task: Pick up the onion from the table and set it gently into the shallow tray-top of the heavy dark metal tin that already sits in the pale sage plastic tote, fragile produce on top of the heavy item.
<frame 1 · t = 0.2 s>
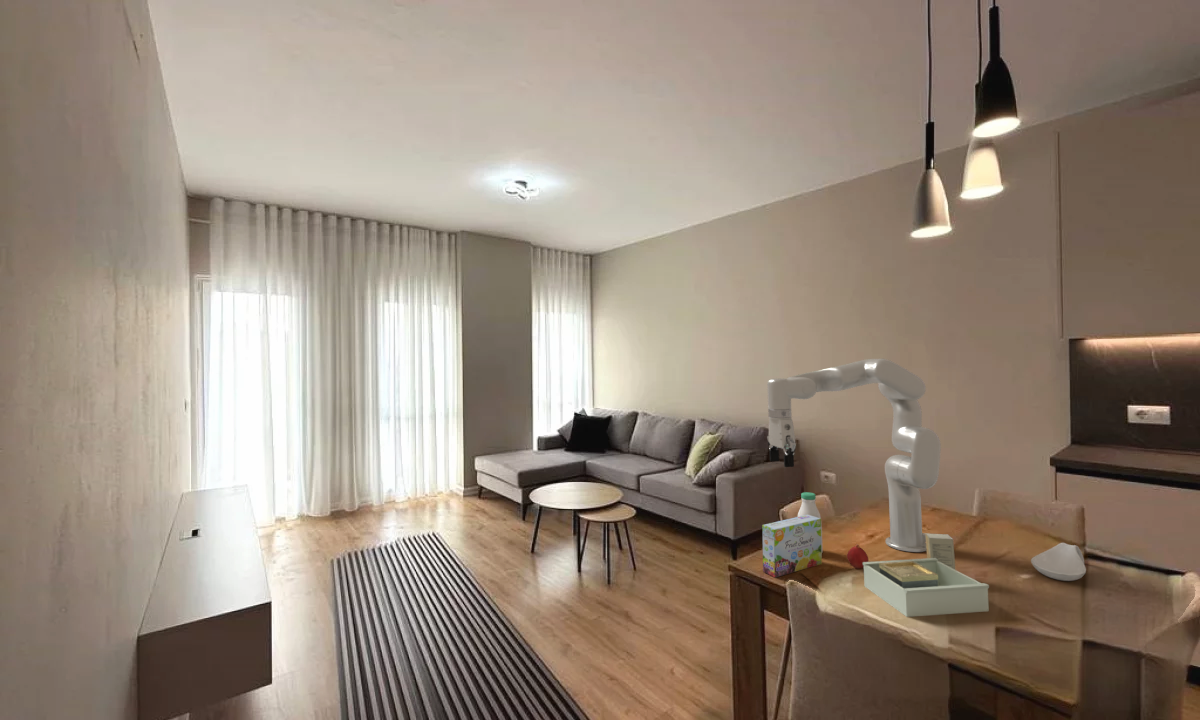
hand: (781, 463, 165), 31 cm above the table, fingers open, 9 cm apart
snack box: (793, 568, 153), on the table
spoon rest: (1063, 572, 145), on the table
milk bottle: (810, 552, 165), on the table
onion: (858, 570, 150), on the table
tote: (923, 600, 129), on the table
tin: (908, 598, 129), point 1 cm above the table, touching tote
skincare box: (941, 577, 144), on the table
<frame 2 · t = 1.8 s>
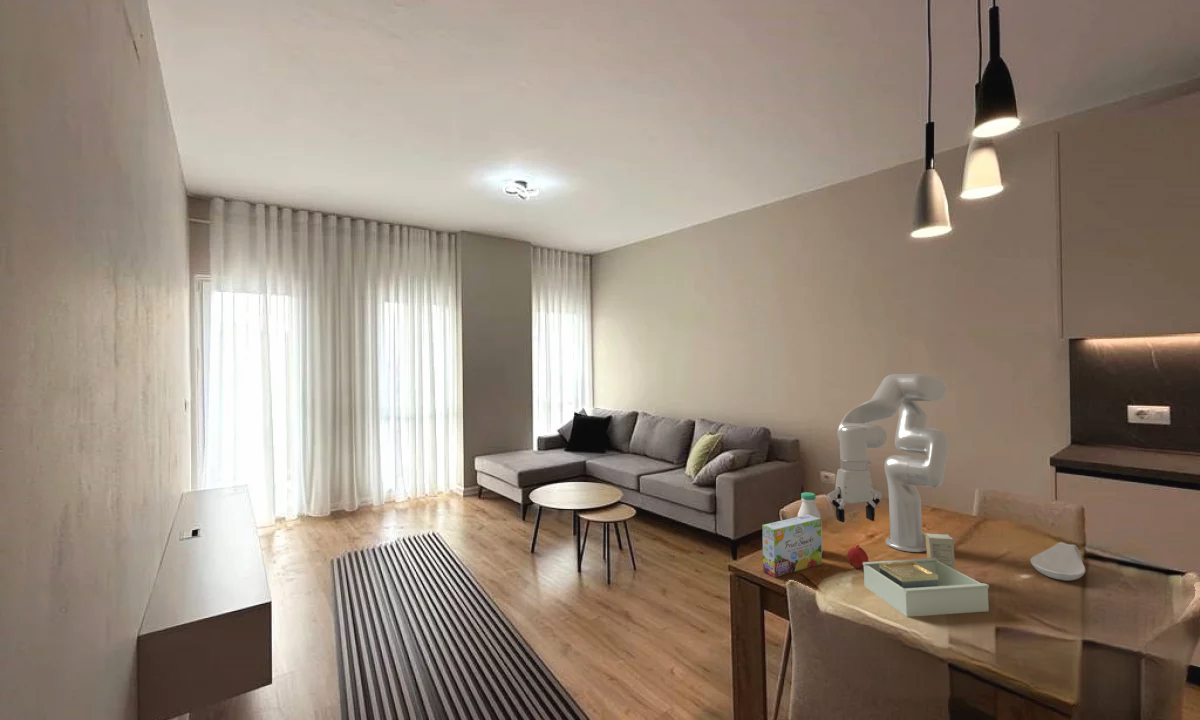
hand: (855, 520, 150), 15 cm above the table, fingers open, 9 cm apart
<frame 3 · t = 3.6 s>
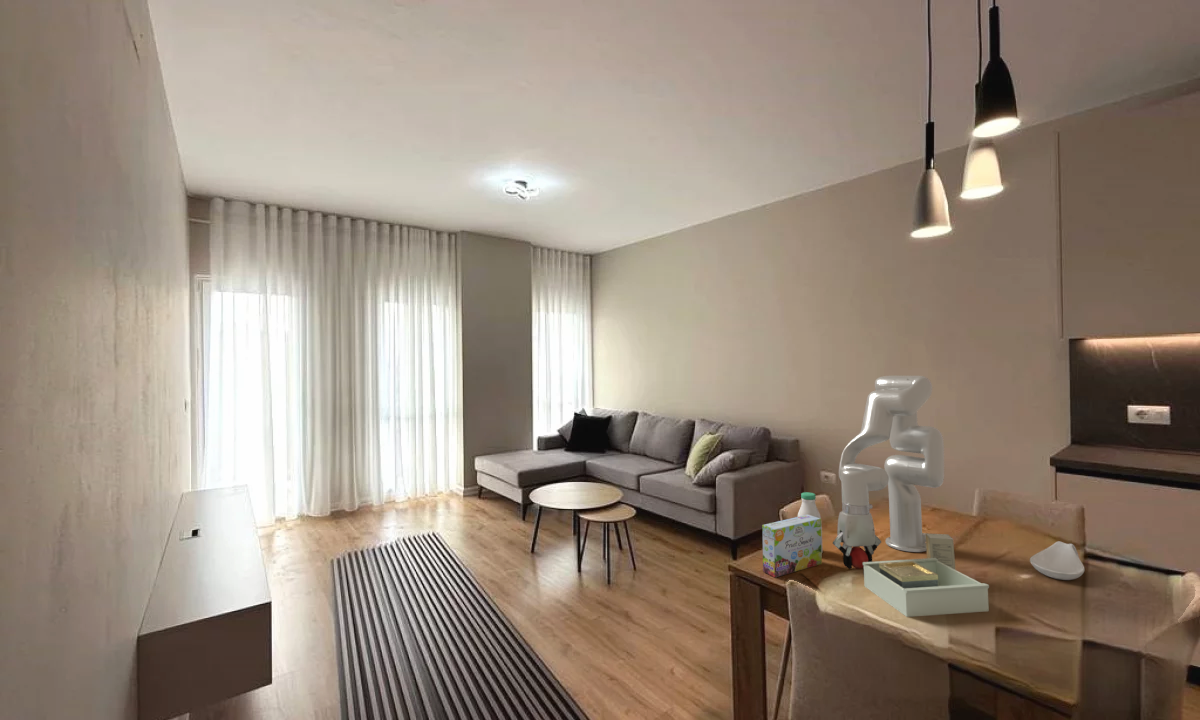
hand: (857, 565, 150), 1 cm above the table, fingers closed on onion, 5 cm apart
onion: (858, 570, 150), on the table, touching gripper
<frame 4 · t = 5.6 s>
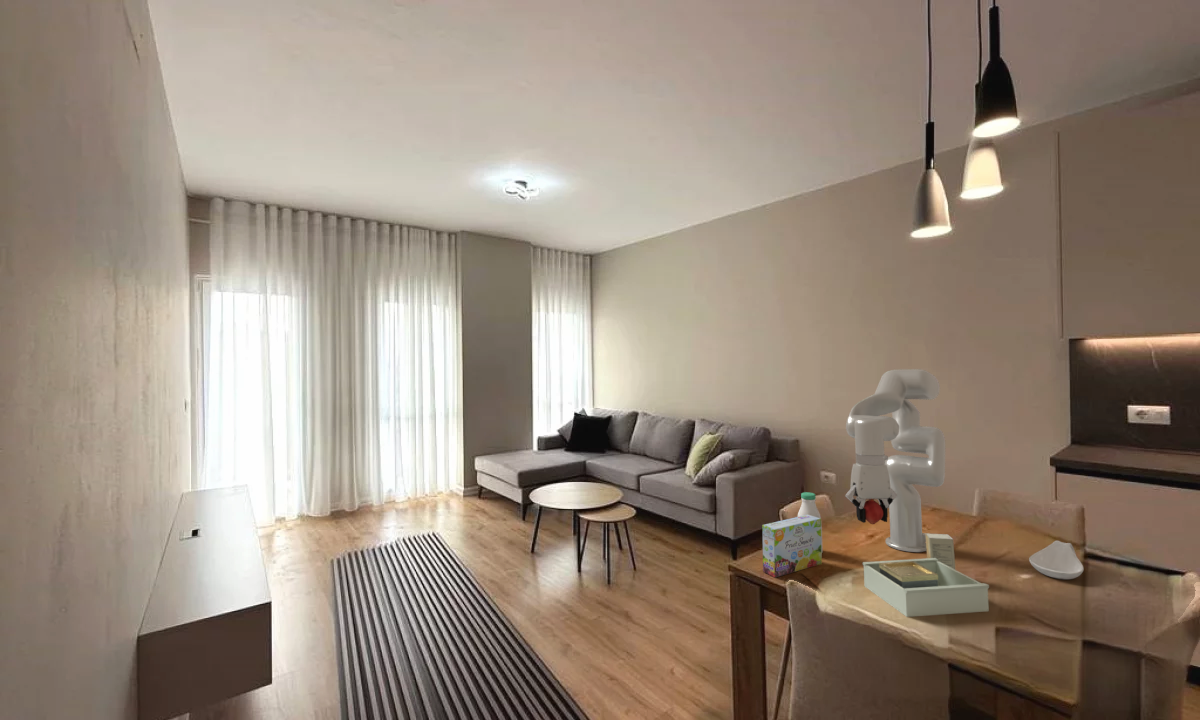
hand: (872, 520, 143), 18 cm above the table, fingers closed on onion, 5 cm apart
onion: (872, 524, 143), point 16 cm above the table, touching gripper
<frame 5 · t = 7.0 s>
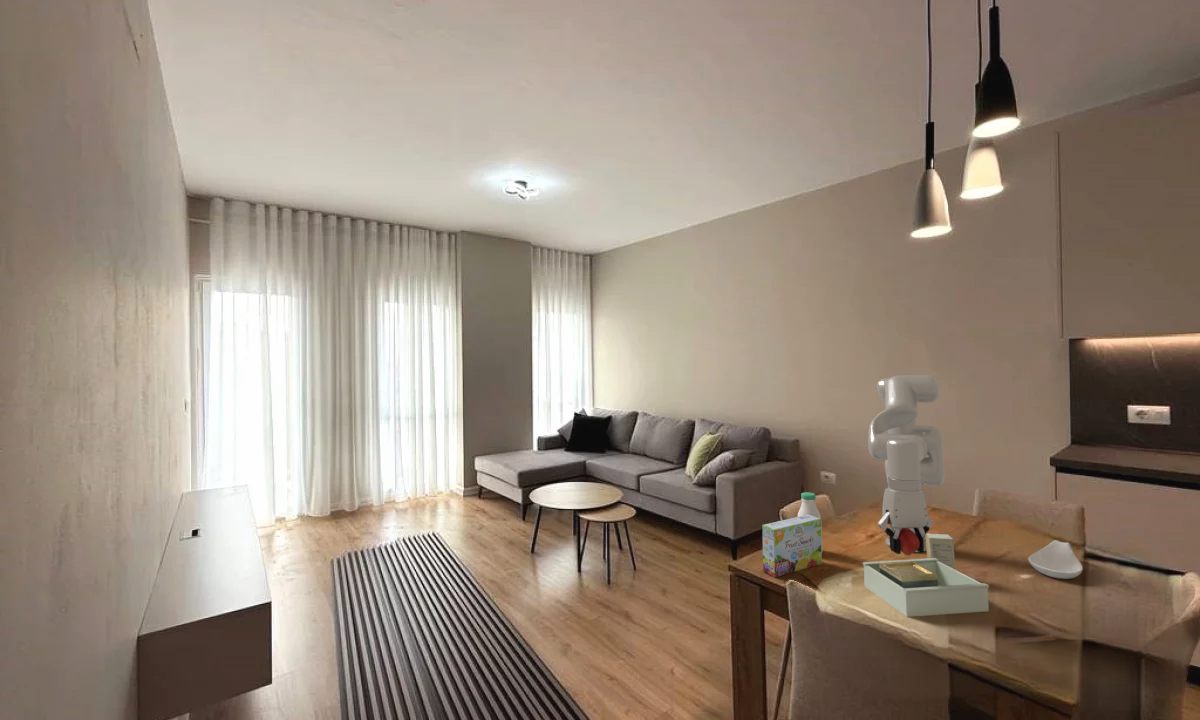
hand: (906, 550, 129), 14 cm above the table, fingers closed on onion, 5 cm apart
onion: (907, 555, 129), point 12 cm above the table, touching gripper
when the fingers open (11 cm above the table, at t = 7.9 s): onion drops 1 cm, resting on tin.
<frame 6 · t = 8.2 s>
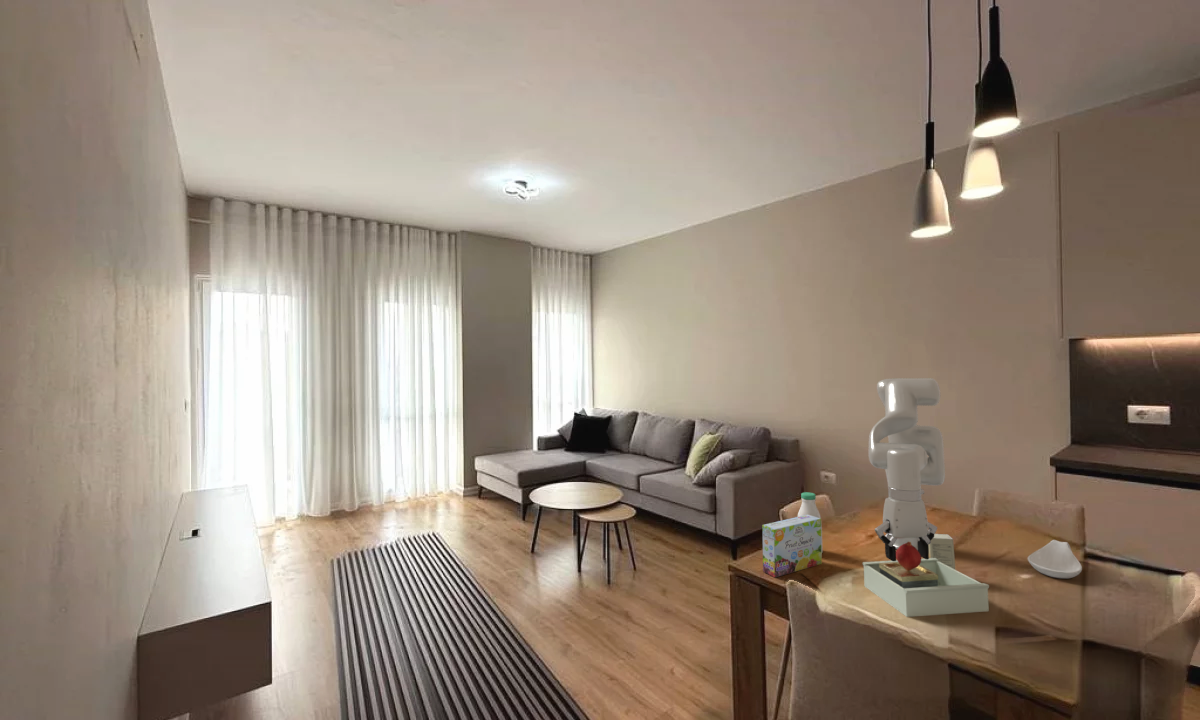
hand: (907, 558, 129), 12 cm above the table, fingers open, 8 cm apart
onion: (907, 570, 130), point 8 cm above the table, touching tin
tin: (908, 598, 129), point 1 cm above the table, touching onion, tote
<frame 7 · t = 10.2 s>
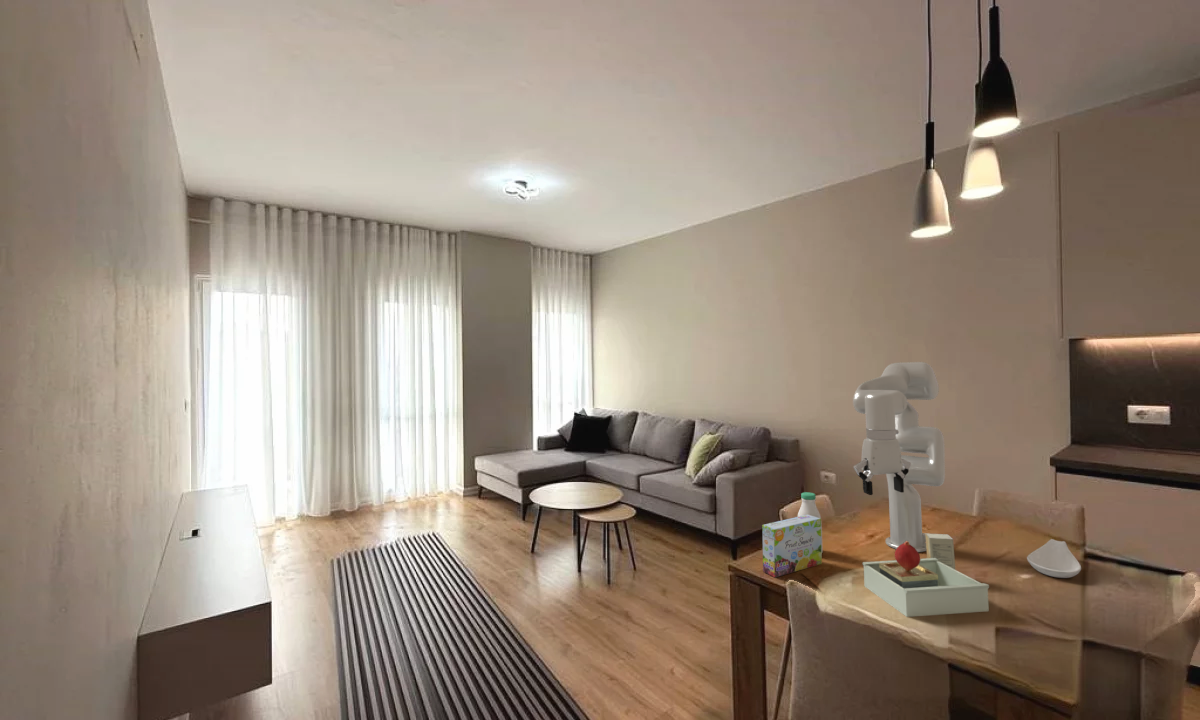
hand: (883, 492, 141), 26 cm above the table, fingers open, 9 cm apart
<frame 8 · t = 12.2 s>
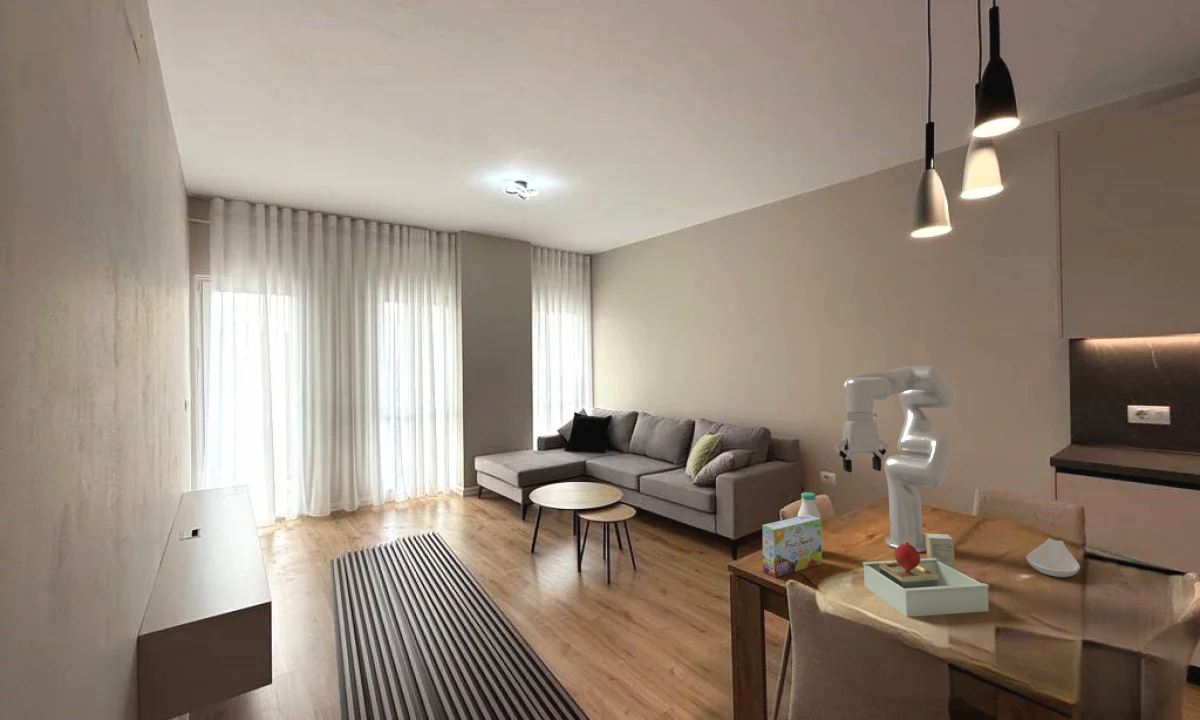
hand: (862, 470, 153), 30 cm above the table, fingers open, 9 cm apart
at the end: onion inside the target area on the tin (0.2 cm from its centre), point 7.3 cm above the tin's base; onion touching tin; the gripper is holding nothing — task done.
